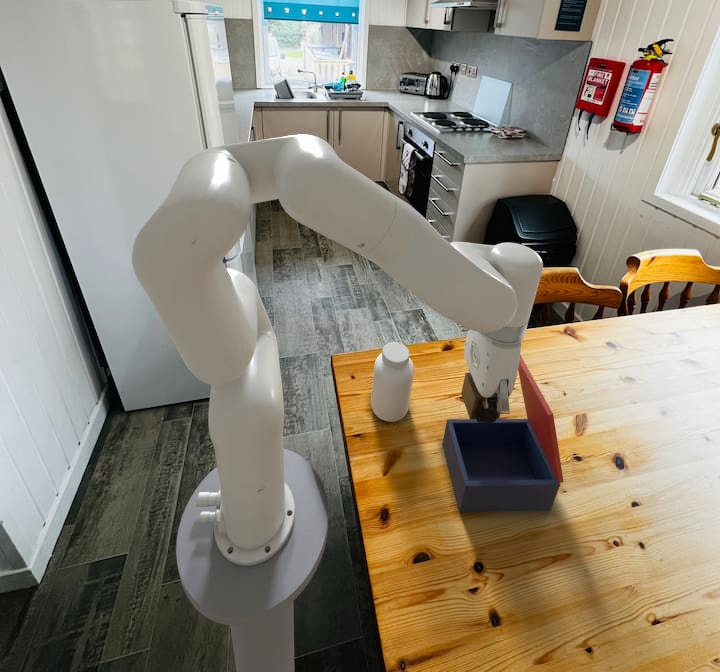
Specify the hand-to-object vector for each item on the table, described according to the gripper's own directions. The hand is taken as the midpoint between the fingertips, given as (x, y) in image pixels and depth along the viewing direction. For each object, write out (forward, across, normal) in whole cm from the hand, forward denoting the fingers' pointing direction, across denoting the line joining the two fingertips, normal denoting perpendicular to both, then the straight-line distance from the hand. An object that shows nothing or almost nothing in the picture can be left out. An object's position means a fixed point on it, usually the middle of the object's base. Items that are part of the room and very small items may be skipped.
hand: (479, 404), depth 67 cm
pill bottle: (+15, -11, -13) cm, 22 cm away
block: (0, 0, 0) cm, 0 cm away
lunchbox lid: (-1, +3, +8) cm, 9 cm away
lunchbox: (+14, +3, +4) cm, 15 cm away
